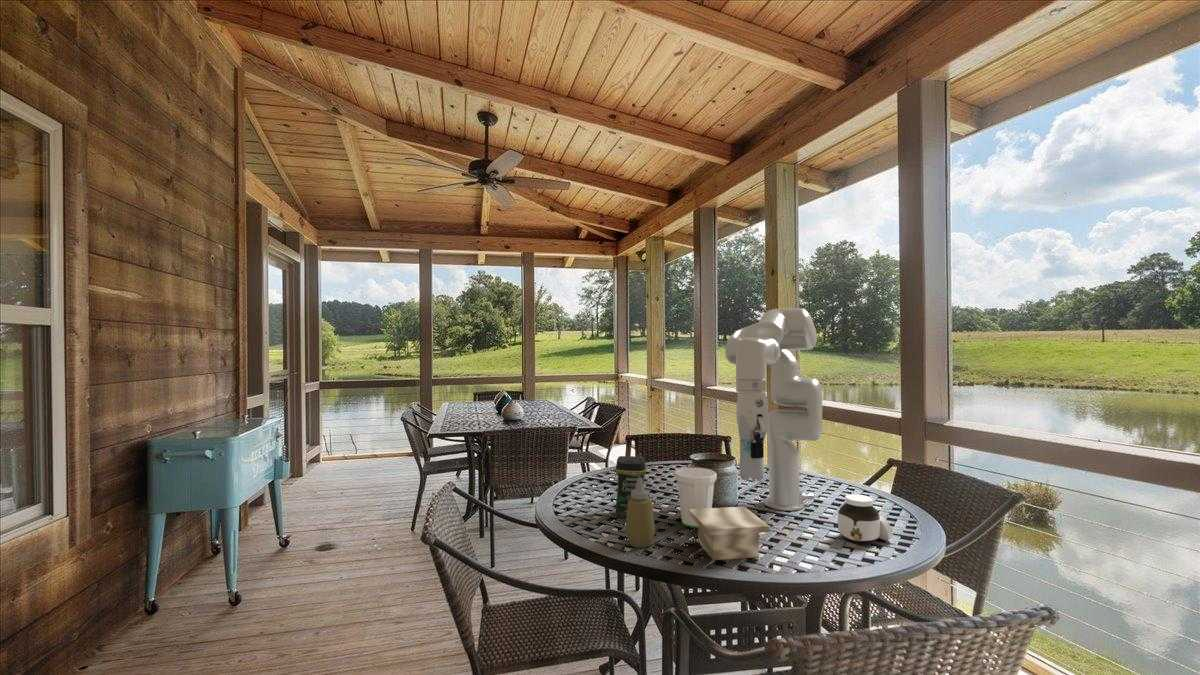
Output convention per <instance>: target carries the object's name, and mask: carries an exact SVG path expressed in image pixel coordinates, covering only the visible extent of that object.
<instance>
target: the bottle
mask: <svg viewBox="0 0 1200 675" xmlns="http://www.w3.org/2000/svg"><path fill="white" fill-rule="evenodd" d="M737 427H738V435H739V434H740V436H739V467H738V469H739V470H738V472H739V473H738V474H739V477H740V479H741V480H743V481H745V482H749V480H750V479H751V482H753V483H755V482H756V480H757V482H761V481H763V479H764V476H765V459H764V457H763V458H754V459H753V458H751V442H752V437H751V431H750V430H748V426H747V422H746V418H745V416H743V415H740V418H739V426H737ZM754 430H759V427H754ZM756 435H757V433H755V437H756Z"/></svg>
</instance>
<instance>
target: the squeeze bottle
mask: <svg viewBox="0 0 1200 675" xmlns="http://www.w3.org/2000/svg"><path fill="white" fill-rule="evenodd" d="M631 497H632V498H630V499H629V500H628V507H627V518H625V520H626V521H625V530H624V531H625V534H626V537H627V541H628V543H629V545H630V546H631V547H632V548H633V547H634V548H637V549H638V548H639V549H642V548H648V547H650V546H651V545H652V543H653V539H654V535H655V533H656V526H655V518H654V509H653V508H654V507H653V501H652V499H650V498H649V491H648V490H647V489H645V484H644V485H643V481H642V478H638V479H637V484H636V488H635V490H632V492H631Z"/></svg>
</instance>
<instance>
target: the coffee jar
mask: <svg viewBox="0 0 1200 675" xmlns="http://www.w3.org/2000/svg"><path fill="white" fill-rule="evenodd" d="M646 466H647V465H646V460H645V457H644V456H635V455H634V456H632V455H625V456H624V455H619V456H618V458H617V459H616V465H615V472H616V475H617V492H616V500H615V501H616V502H615V515H616V516H618V517H619V518H625V519H626V518H627V507H628V500H629V499H630V498H632V497H631V492H632V490H635V488H636V484H637V479H638V478H642V481H643V485H644V486H645V476H646V472H647V467H646Z"/></svg>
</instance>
